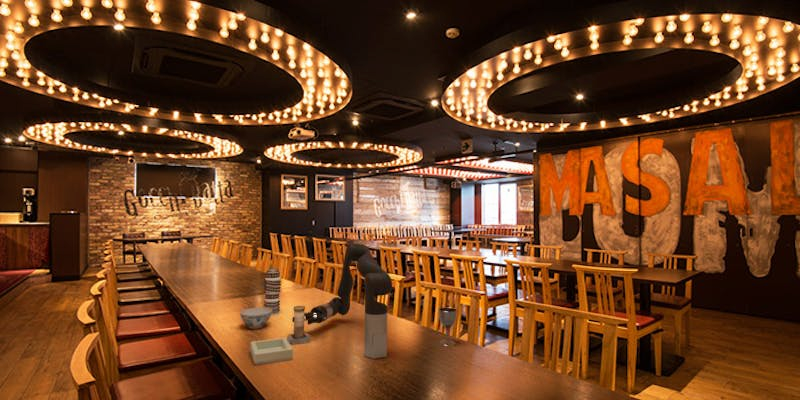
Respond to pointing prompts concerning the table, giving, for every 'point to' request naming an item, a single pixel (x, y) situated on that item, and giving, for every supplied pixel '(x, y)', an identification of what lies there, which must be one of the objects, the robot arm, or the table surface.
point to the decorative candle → (272, 290)
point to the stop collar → (298, 339)
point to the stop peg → (299, 322)
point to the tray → (271, 351)
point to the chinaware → (255, 317)
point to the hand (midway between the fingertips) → (300, 321)
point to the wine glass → (447, 322)
